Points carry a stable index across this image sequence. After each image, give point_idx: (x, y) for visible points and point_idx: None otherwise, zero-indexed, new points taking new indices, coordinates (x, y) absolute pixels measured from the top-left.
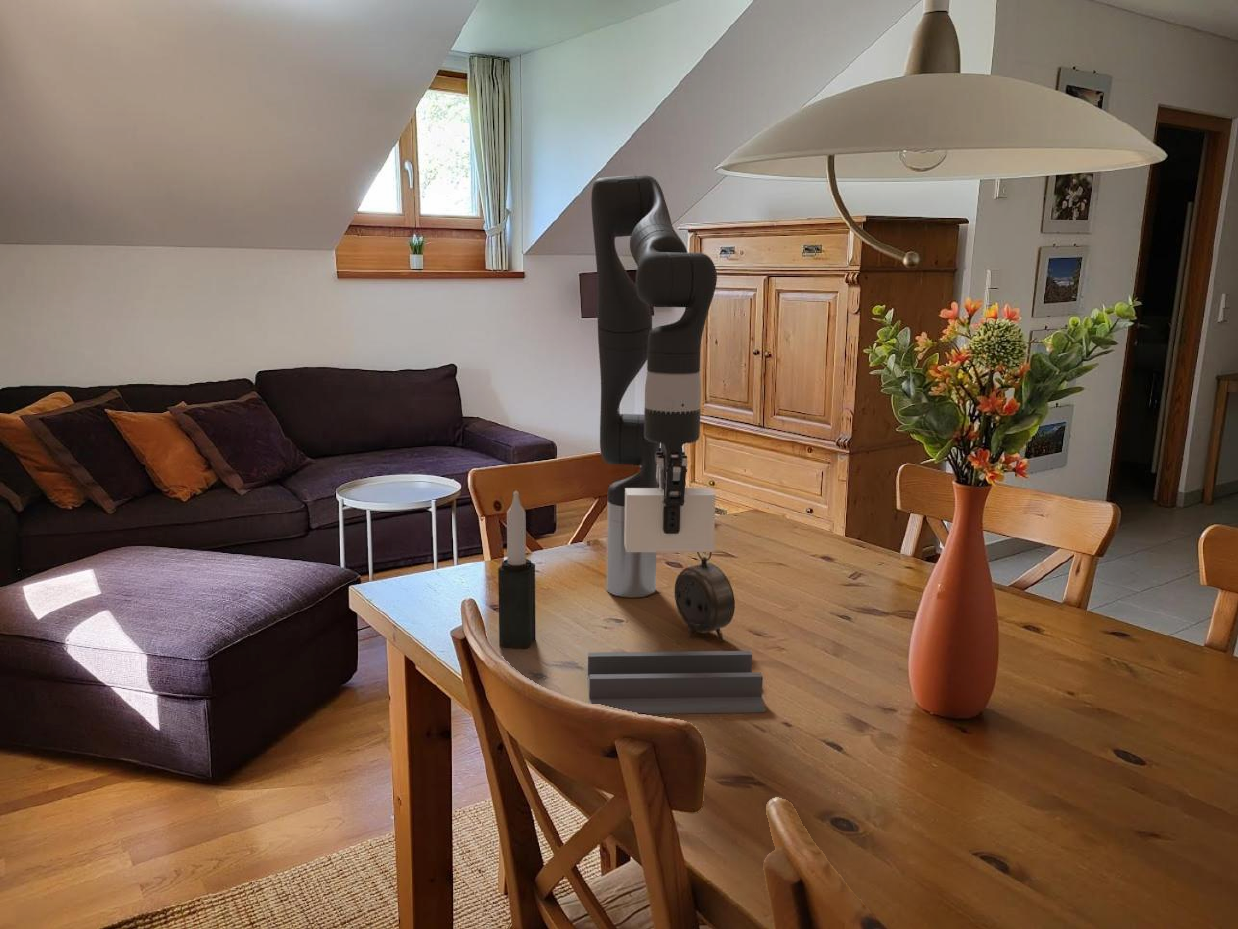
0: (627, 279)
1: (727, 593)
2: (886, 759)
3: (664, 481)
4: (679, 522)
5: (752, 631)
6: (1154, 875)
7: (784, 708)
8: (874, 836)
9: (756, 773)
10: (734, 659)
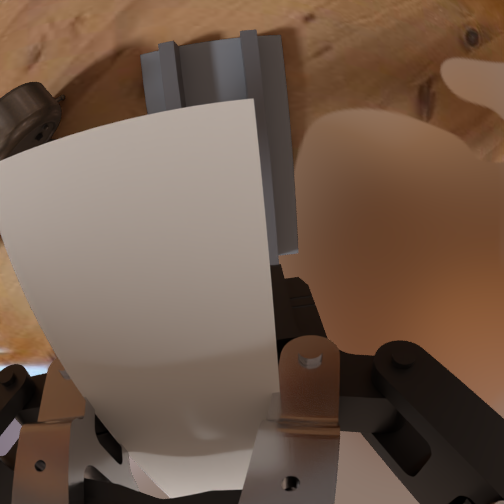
0: None
1: (24, 93)
2: None
3: (121, 477)
4: (286, 287)
5: (29, 65)
6: None
7: (265, 13)
8: (481, 23)
9: (414, 79)
10: (177, 67)
